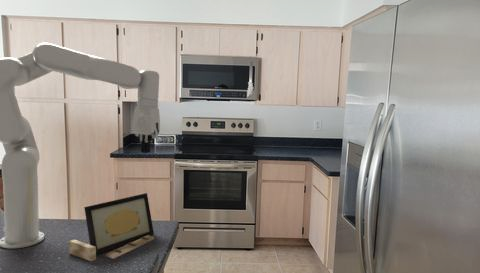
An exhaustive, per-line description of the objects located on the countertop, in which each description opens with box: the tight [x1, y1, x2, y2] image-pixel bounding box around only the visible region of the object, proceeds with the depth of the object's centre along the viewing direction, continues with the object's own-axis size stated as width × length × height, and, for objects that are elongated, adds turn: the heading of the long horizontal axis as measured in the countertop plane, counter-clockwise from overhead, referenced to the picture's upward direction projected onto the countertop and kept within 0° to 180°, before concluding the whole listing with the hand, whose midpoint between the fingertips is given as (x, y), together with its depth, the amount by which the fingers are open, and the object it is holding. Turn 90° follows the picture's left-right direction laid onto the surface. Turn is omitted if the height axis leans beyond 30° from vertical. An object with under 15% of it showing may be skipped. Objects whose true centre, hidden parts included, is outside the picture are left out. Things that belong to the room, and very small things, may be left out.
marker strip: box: [105, 235, 155, 260], centre depth 111 cm, size 3×18×1 cm, turn 152°
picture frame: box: [83, 192, 155, 255], centre depth 115 cm, size 23×9×15 cm, turn 143°
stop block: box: [69, 239, 97, 262], centre depth 103 cm, size 10×2×4 cm, turn 62°
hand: (145, 152), depth 128 cm, fingers closed
